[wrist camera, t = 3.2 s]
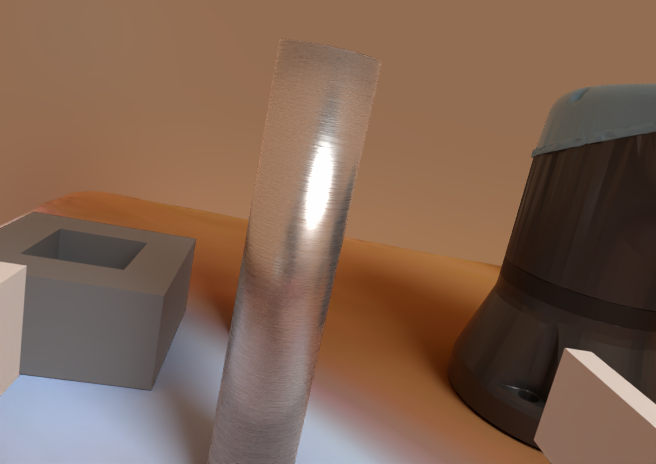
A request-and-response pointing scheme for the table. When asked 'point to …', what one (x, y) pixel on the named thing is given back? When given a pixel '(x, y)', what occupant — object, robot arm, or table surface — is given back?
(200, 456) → the table surface
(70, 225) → the hole block
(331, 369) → the table surface
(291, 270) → the long steel pin
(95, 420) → the table surface
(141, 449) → the table surface
